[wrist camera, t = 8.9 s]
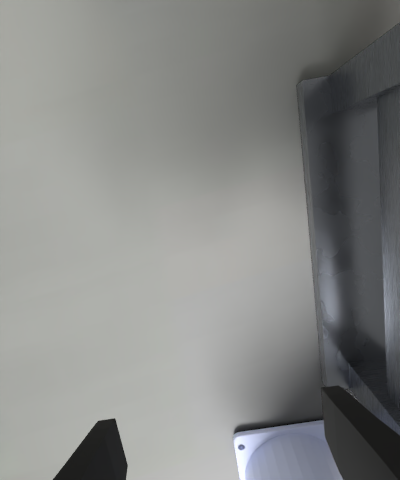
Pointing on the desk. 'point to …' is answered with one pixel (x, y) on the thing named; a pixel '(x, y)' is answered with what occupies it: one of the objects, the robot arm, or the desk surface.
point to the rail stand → (356, 222)
